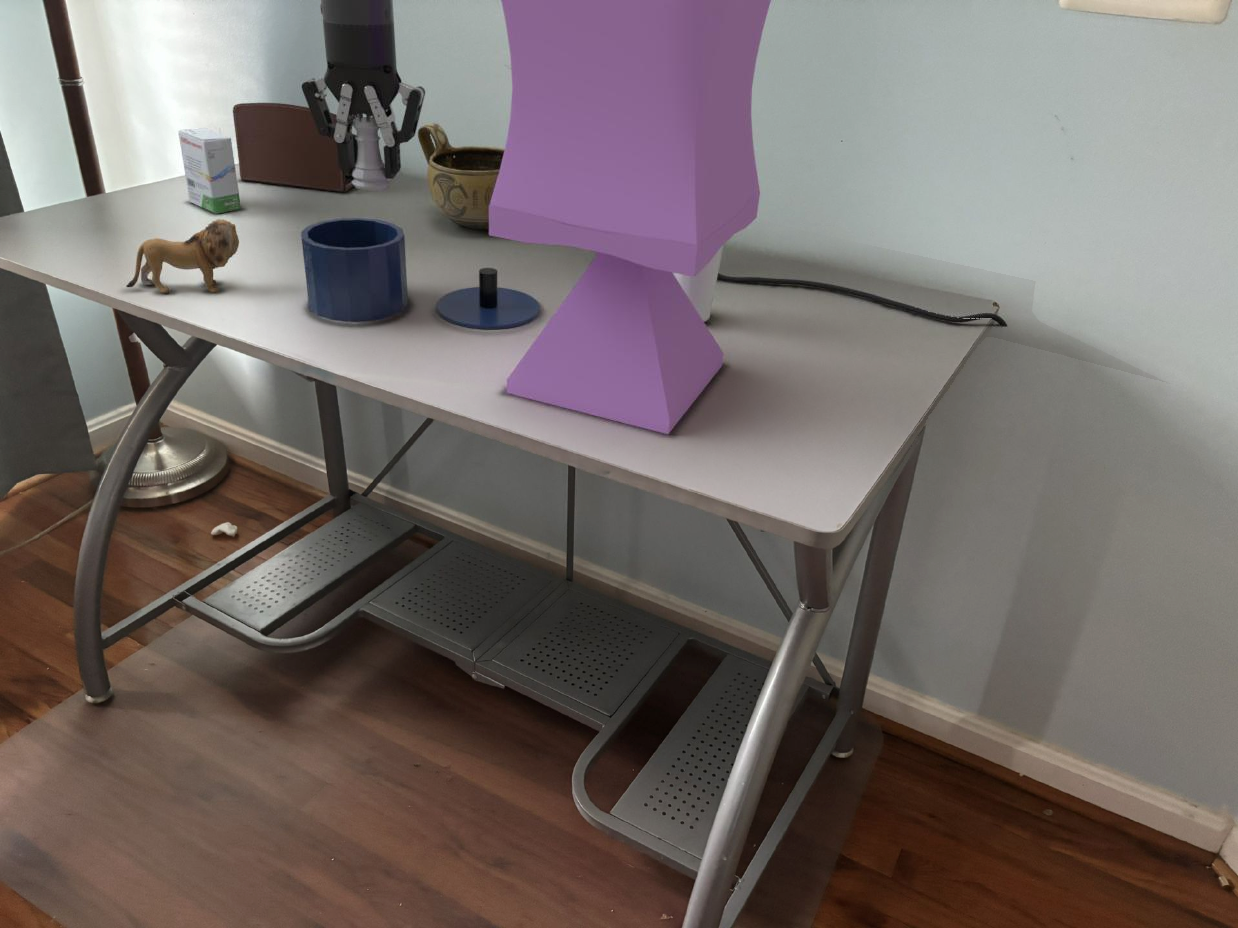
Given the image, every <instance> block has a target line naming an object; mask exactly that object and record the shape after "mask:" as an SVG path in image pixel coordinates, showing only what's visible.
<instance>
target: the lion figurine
mask: <svg viewBox="0 0 1238 928" xmlns="http://www.w3.org/2000/svg"><path fill="white" fill-rule="evenodd" d="M239 245H240V240H239V235H238V233H237V227H236V224H235V223H231V221H228V220H227V219H223V218H222V219H215V220H213V221H212V222H210V223H209V224H208V225H207V226H205V228H204V229H202V230H200V231H199V232H196V233H194V234H193V235H192V236H191V237H190V238H189V239H187V240H185V241H171V240H166V239H163V238H149V239H147V240H145V241H143V242H142V243H141V244H140V246H139V247H138V251H137V253H136V260H135V261H136V262H135V271H134V276H133V278H132V280H130V281H128V283H127V284H126V285H125V288H133V287H135V285H136V284H137V282H138V280H139V277H140V281H141V283H142V284H143V285H145V286H151V285H155V287H156V289H157V290H158V292H160V293H161V294H169V293H170V288H169V286H164V285H163V284H162V282H161V274H162V270H163V263H166V264H168V265H170V266H171V267H173V268H176V269H179V270H185V271H186V270H196V269H199V270H200V272H201V273H202V276H203V282H204V283H205V286H206V288H207V290H208V291H209V292H210V293H218V292H219V287H218V286H216V285H217V280H215V279H214V270H215V269H219V268H224V267H226V265H227V264H228V261H229V260H230V258H233V256H234V255H236V253H237V252H238V249H239ZM143 256H144V258H145V260H146V261H145V263H144V264H143V266H142V260H143ZM150 273H151V274H152V276H151V278H148V276H149V274H150Z"/></svg>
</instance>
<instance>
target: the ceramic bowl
mask: <svg viewBox="0 0 1238 928" xmlns="http://www.w3.org/2000/svg"><path fill="white" fill-rule="evenodd" d="M417 138H418V142H419V144H420V147H421V150H422V152H423V154H424V157H425V160H426V162H427V165H428V166H427V184H428V190H429V195H430V197H431V200H432V202H433V204H434V205H435V207H436V209H437V210H438V211H439V212H440V213H441V214H442V215H443V216H444V217H446V218H447V219H449V220H450V221H452V222H453V223H455V224H457V225H459V226H462V227H465V228H469V229H473V230H489V206H490V202H491V199H492V195H493V192H494V188H495V185H496V181H497V178H498V175H499V171H500V167H501V163H502V159H503V155H504V151H505V147H497V146H487V145H468V146H467V145H465V146H462V145H461V146H452V145H451V144H450V142H449V138H448V136H447V133H446V131H445V130H444V129H443V127H442V126H441V125H440V124H438V123H436V122H432V123H427V124H424V125H421V127H419V128H418V130H417Z"/></svg>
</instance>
